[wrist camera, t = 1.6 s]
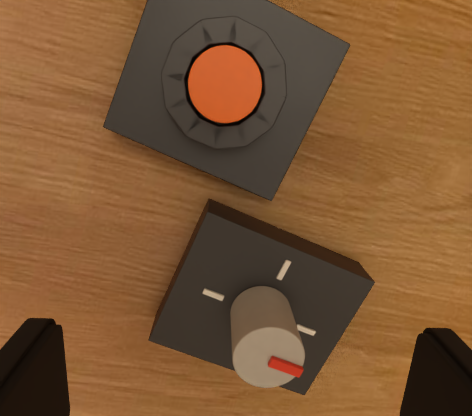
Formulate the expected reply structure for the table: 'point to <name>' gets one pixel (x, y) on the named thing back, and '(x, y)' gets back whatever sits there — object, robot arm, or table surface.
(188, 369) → the table surface
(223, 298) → the dial console
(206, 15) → the grey piece
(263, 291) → the temp dial
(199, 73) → the button
